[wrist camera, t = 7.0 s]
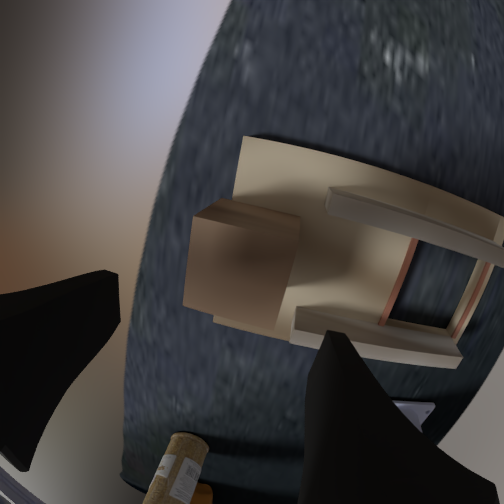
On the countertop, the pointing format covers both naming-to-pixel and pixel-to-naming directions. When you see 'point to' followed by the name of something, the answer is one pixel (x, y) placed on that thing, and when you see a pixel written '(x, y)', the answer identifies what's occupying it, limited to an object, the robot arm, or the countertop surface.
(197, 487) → the coffee package
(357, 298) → the frame
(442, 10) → the countertop surface
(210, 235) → the walnut block
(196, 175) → the countertop surface
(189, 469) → the sprinkles bottle
